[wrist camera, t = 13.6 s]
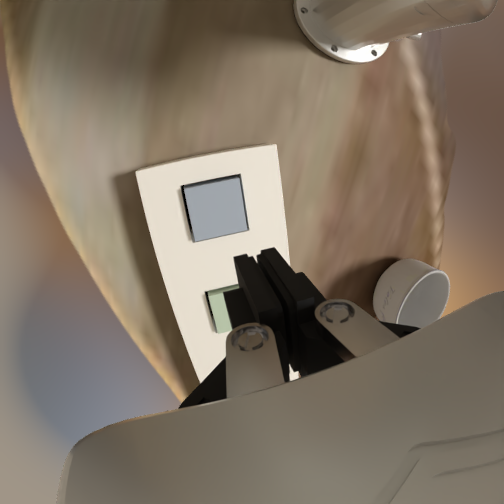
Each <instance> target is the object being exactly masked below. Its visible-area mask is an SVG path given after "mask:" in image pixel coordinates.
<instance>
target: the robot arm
mask: <svg viewBox="0 0 504 504" xmlns="http://www.w3.org/2000/svg"><path fill="white" fill-rule="evenodd" d="M497 1H498V0H294V6H293V7H294V13H295V17H296V19H297V22H298V24H299V26H300V28H301V30H302V31H303V33H304V34H305V35H306V37H307V38H308V39H309V40H310V41H311V42H312V43H313V44H314V45H315V46H316V47H317V48H318V49H319V50H321V51H322V52H324V53H325V54H326V55H328V56H330V57H332V58H334V59H336V60H339V61H342V62H345V63H351V64H363V63H367V62H371V61H373V60H376V59H377V58H379V57H380V56H382V54H383V53H384V52H385V51H386V49H387V47H388V44H389V42H392V41H395V40H398V39H402V38H405V37H406V38H409V39H413V40H419V39H420V38H421V33H425V32H429V31H433V30H438V29H442V28H447V27H452V26H458V25H463V24H469V23H474V22H478V21H481V20H483V19H485V18H486V17H487V16H489V15H490V14H491V13H492V12H493V10H494V8H495V6H496V4H497ZM331 49H332V50H331ZM256 257H257V262H256V260H255V259H254V257H253V256H250V257H249V256H248V255H247V254H243V255H238V256H234V257H233V259H234V265H235V270H236V275H237V279H238V284H239V288H237V289H233V290H229V291H225V292H223V296H224V300H225V304H226V308H227V312H228V316H229V320H230V324H231V327H232V331H231V332H230V333H229V334H228V336H227V338H226V357H225V358H224V359H223V360H222V361H221V362H220V363H219V364H218V365H217V366H216V367H215V369H214V370H213V371H212V372H211V373H210V374H209V375H208V376H207V377H206V378H205V379H204V380H203V381H202V382H201V383H200V385H199V386H198V387H197V388H196V389H195V390H194V391H193V392H192V393H191V394H190V395H189V396H188V397H187V398H186V399H185V400H184V401H183V402H182V404H181V405H180V407H179V409H176V410H171V411H165V412H161V413H155V414H150V415H144V416H140V417H135V418H131V419H127V420H123V421H121V422H117V423H114V424H111V425H108V426H106V427H103V428H101V429H99V430H97V431H94V432H92V433H90V434H88V435H87V436H85V437H84V438H82V439H81V440H79V441H78V442H77V443H76V444H75V445H74V446H73V448H72V449H71V451H70V452H69V454H68V456H67V458H66V460H65V463H64V466H63V470H62V473H61V477H60V482H59V488H58V494H57V504H504V291H501V292H495V293H492V294H489V295H486V296H483V297H481V298H479V299H476V300H474V301H473V302H471V303H469V304H467V305H465V306H463V307H461V308H459V309H457V310H456V311H453V312H452V313H450V314H448V315H446V316H445V317H442V318H441V319H439V320H437V321H435V322H433V323H431V324H429V325H427V326H425V327H423V328H418V327H415V326H408V325H402V324H395V323H389V322H383V321H377V320H376V319H375V318H373V317H372V316H371V315H369V314H368V313H367V312H365V311H364V310H363V309H361V308H360V307H359V306H358V305H356V304H355V303H353V302H351V301H349V300H345V299H331V300H328V301H327V300H326V299H325V298H324V297H323V295H322V294H321V293H320V292H319V291H318V289H317V288H316V287H315V286H314V285H313V284H312V282H311V281H310V280H309V279H308V278H307V276H306V275H305V274H304V273H303V272H299V273H295V272H294V271H293V270H292V268H291V267H290V266H289V265H288V263H287V262H286V261H285V260H284V258H283V257H282V256H281V255H280V253H279V252H278V251H277V250H276V248H275V247H272V248H268V249H264V250H261V254H258V255H257V256H256ZM289 364H290V366H291V368H292V370H293V372H297V371H299V373H300V375H301V378H298V379H295V380H292V381H290V376H289V374H290V367H289Z"/></svg>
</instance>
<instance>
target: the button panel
mask: <svg viewBox="0 0 504 504" xmlns="http://www.w3.org/2000/svg"><path fill="white" fill-rule="evenodd" d="M235 174H236V176H237V177H239V179H240V185H241V192H242V198H243V205H244V211H245V217H246V224H247V230H246V231H241V232H237V233H232V234H227V235H223V236H218V237H214V238H209V239H205V240H200V241H196V242H195V238H194V234H193V233H191V230H190V225H189V221H188V216H187V212H186V207H185V202H184V197H183V193H182V188H181V185H186V184H190V183H195V182H200V181H204V180H209V179H214V178H219V177H225V176H230V175H235ZM136 177H137V181H138V186H139V190H140V195H141V199H142V203H143V207H144V211H145V215H146V219H147V223H148V227H149V231H150V235H151V238H152V242H153V246H154V249H155V253H156V256H157V260H158V263H159V267H160V270H161V273H162V277H163V280H164V283H165V286H166V289H167V293H168V296H169V299H170V302H171V305H172V308H173V311H174V314H175V317H176V320H177V323H178V325H179V328H180V331H181V334H182V337H183V339H184V342H185V345H186V348H187V350H188V353H189V356H190V358H191V361H192V363H193V366H194V369H195V371H196V374H197V376H198V379H199V381H200V383H201V382H202V381H203V380H204V379H205V378H206V377H207V376H208V375H209V374H210V373H211V372H212V371H213V370H214V369H215V367H216V366H217V365H218V364H219V363H220V362H221V361H222V360H223V359H224V358H225V357H226V338H227V336H228V334H229V333H230V332H231V331H228V332H224V333H220V334H218V331H217V327H216V324H215V320H214V318H212V316H211V312H210V308H209V304H208V300H207V296H206V293H205V291H209V290H213V289H218V288H222V287H226V286H230V285H235V284H238V279H237V275H236V270H235V265H234V259H233V257H234V256H238V255H243V254H247V255H248V256H249V257H250V256H253V257H254V259H255V260H256V262H257V257H256V256H257V255H258V254H261V250H264V249H268V248H272V247H275V248H276V250H277V251H278V252H279V253H280V255H281V256H282V257H283V258H284V260H285V261H286V262H287V263H288V265H289V266H290V260H289V250H288V240H287V230H286V221H285V212H284V203H283V194H282V185H281V177H280V169H279V161H278V153H277V146H276V144H261V145H254V146H247V147H241V148H235V149H229V150H223V151H218V152H212V153H207V154H202V155H197V156H192V157H187V158H182V159H178V160H173V161H169V162H164V163H160V164H156V165H152V166H148V167H144V168H140V169H139V170H137V171H136ZM289 367H290V374H289V376H290V381H292V380H295V379H298V371H297V372H293V370H292V368H291V366H290V364H289Z"/></svg>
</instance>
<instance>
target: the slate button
mask: <svg viewBox="0 0 504 504" xmlns="http://www.w3.org/2000/svg"><path fill="white" fill-rule="evenodd" d="M184 192H185V197H186V201H187V206H188V211H189V216H190V220H191V225H192V229H193V234H194V238H195V242H196V241H200V240H205V239H209V238H214V237H218V236H223V235H227V234H232V233H237V232H241V231H246V230H247V224H246V217H245V211H244V205H243V198H242V192H241V185H240V179H239V177H237V176H236V175H235V176H230V177H224V178H219V179H214V180H209V181H204V182H199V183H195V184H190V185H185V186H184Z"/></svg>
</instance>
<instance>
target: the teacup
mask: <svg viewBox="0 0 504 504" xmlns="http://www.w3.org/2000/svg"><path fill="white" fill-rule="evenodd" d="M449 292H450V282H449V278H448V276H447V275H446V273H445V272H443V271H441V270H437V269H435V268H434V267H432V266H430V265H428V264H426V263H423V262H421V261H419V260H415V259H403V260H400V261H397V262H396V263H394V264H392V265H391V266H390V267H389V268H388V269H387V270H386V271H385V272H384V273H383V274H382V275H381V277H380V279H379V280H378V282H377V285H376V288H375V291H374V296H373V307H374V311H375V314H376V316H377V317H378V319H379V320H380V321H383V322H389V323H395V324H402V325H408V326H415V327H418V328H423V327H425V326H427V325H429V324H431V323H433V322H435V321H437V320H439V319H440V317H441V315H442V313H443V311H444V309H445V307H446V304H447V301H448V297H449Z"/></svg>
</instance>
